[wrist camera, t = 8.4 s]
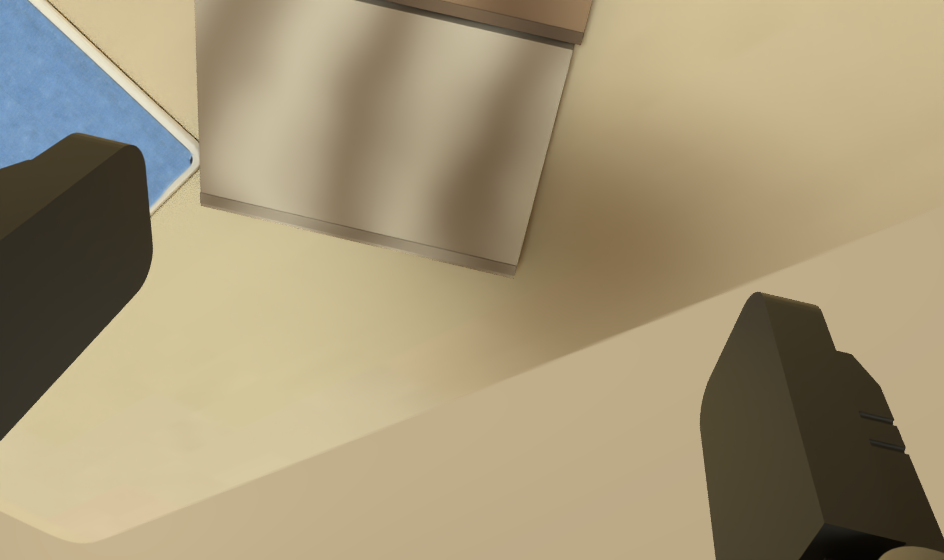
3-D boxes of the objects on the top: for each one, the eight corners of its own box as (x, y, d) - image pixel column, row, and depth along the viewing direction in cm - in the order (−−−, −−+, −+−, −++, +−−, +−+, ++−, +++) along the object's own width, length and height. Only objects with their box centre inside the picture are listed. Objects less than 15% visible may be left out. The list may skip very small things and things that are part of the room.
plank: (574, 39, 33) (572, 50, 32) (516, 262, 40) (513, 279, 39) (208, -44, 34) (192, -37, 32) (213, 192, 40) (200, 206, 39)
